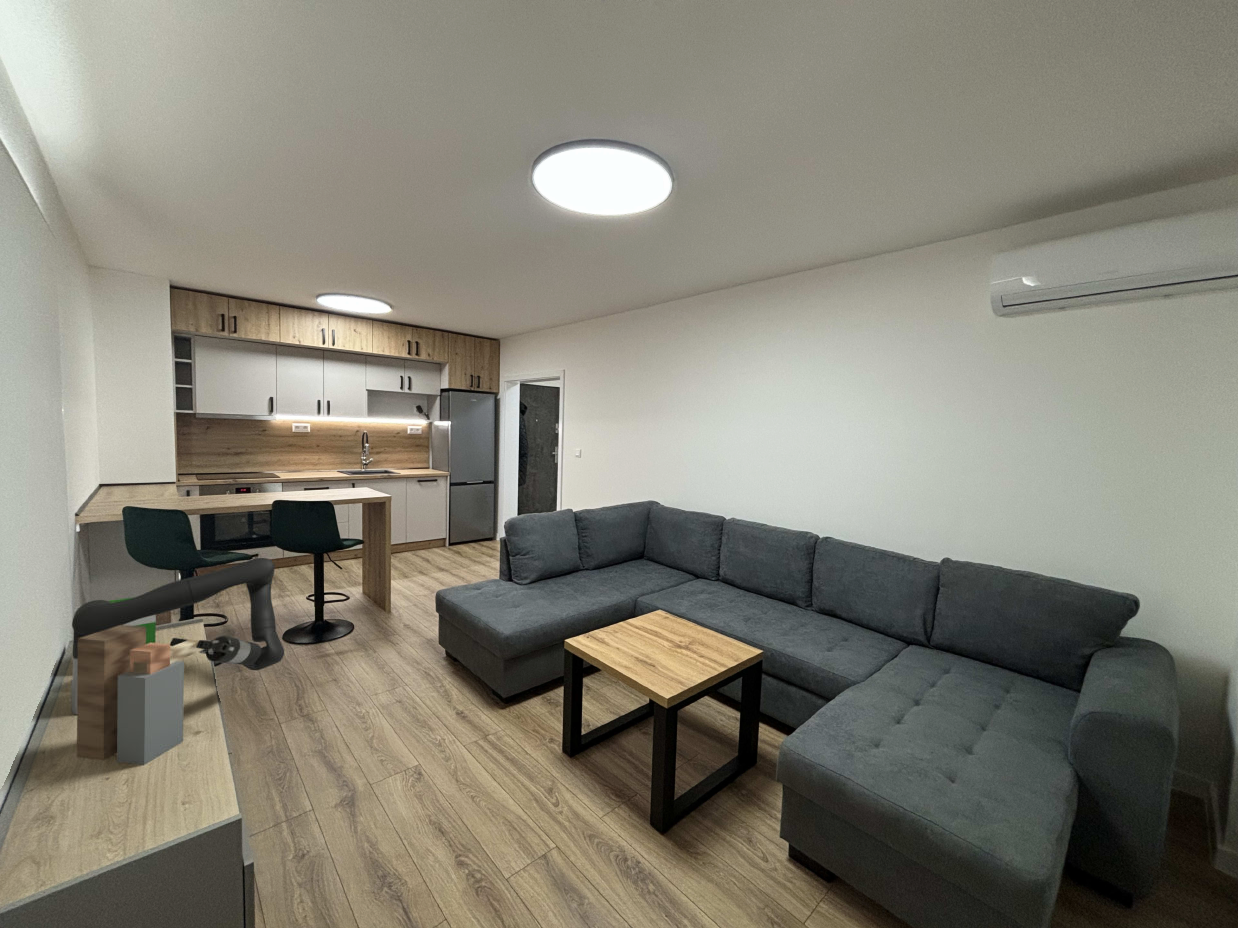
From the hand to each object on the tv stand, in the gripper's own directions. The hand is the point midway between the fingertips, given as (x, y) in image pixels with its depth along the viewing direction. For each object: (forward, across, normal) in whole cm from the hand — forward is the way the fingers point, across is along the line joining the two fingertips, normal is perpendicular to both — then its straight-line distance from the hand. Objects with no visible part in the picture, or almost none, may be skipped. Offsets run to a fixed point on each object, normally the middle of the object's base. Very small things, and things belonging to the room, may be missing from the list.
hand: (185, 642), depth 138 cm
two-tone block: (+2, 0, +5) cm, 5 cm away
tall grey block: (-5, 0, +27) cm, 28 cm away
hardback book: (-42, -64, +6) cm, 77 cm away
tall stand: (-5, -12, +27) cm, 30 cm away
